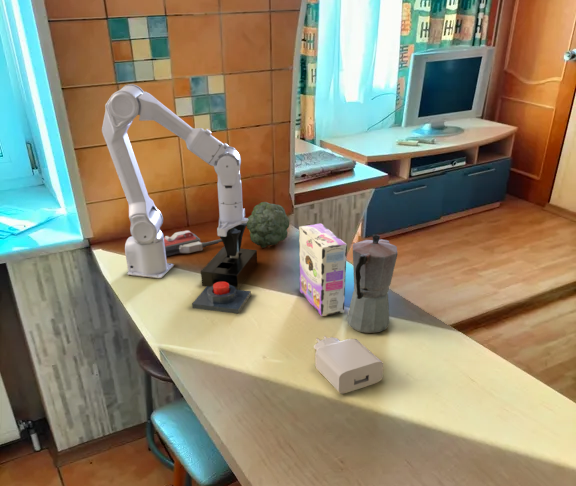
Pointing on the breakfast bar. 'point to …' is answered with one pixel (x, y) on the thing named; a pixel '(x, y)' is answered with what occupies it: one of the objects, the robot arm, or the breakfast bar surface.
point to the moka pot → (371, 284)
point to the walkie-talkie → (185, 243)
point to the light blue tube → (237, 250)
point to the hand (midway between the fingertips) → (233, 253)
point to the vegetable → (267, 224)
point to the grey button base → (222, 300)
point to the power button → (221, 288)
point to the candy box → (322, 268)
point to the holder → (229, 268)
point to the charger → (347, 364)
